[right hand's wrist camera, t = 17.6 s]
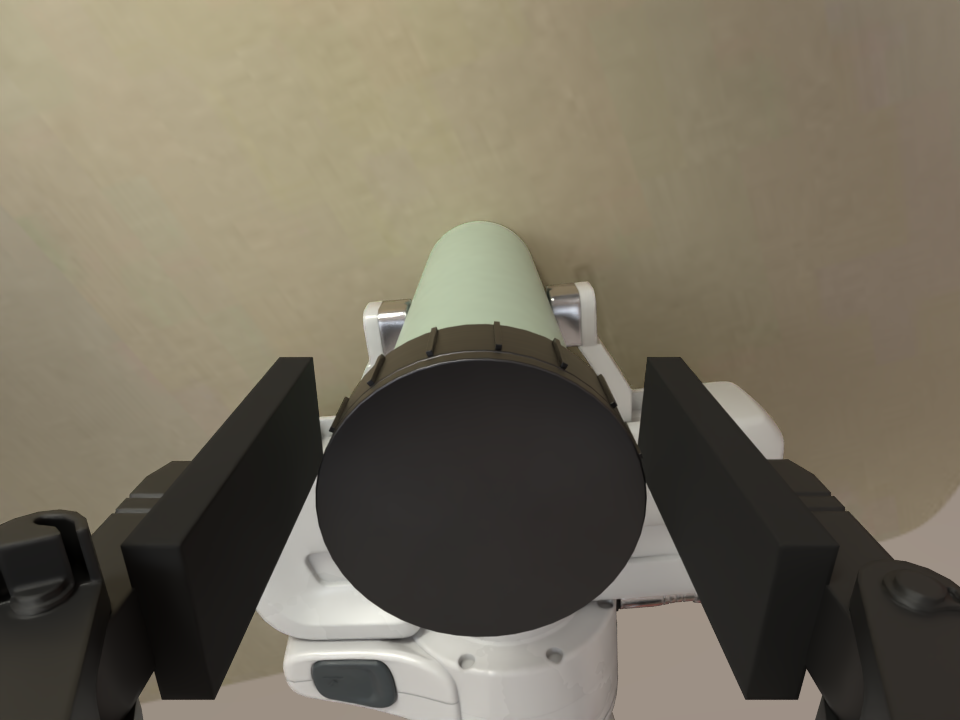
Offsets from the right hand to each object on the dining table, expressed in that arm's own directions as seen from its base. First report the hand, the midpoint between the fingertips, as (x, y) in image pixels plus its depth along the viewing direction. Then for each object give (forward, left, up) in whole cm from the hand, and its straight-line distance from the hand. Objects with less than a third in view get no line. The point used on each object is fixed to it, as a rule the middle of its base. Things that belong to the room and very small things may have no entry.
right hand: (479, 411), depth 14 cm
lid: (0, 0, +4) cm, 4 cm away
